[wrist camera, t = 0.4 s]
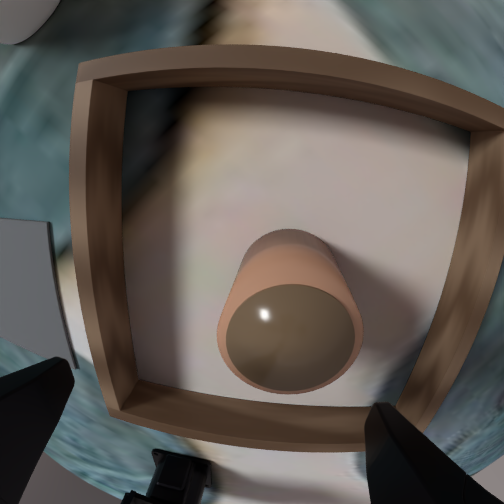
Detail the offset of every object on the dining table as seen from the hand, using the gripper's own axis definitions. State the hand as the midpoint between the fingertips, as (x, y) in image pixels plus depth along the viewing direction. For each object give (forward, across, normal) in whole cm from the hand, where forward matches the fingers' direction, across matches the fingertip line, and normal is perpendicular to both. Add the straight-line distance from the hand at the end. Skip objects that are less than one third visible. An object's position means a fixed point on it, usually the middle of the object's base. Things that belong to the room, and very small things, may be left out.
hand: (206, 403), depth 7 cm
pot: (+12, -2, +1) cm, 12 cm away
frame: (+12, -2, +1) cm, 12 cm away
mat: (+12, +23, +5) cm, 26 cm away
